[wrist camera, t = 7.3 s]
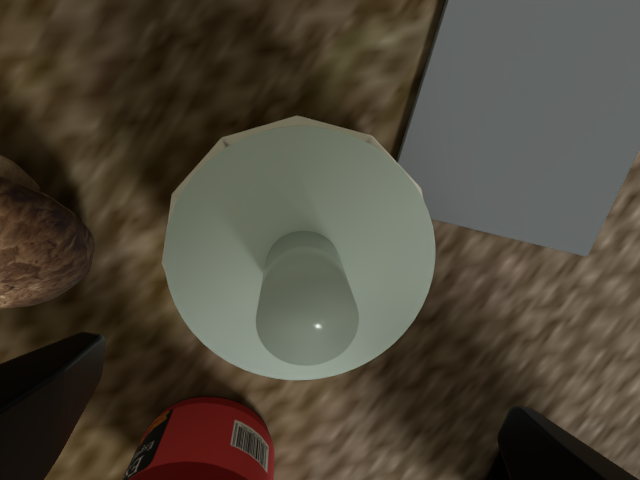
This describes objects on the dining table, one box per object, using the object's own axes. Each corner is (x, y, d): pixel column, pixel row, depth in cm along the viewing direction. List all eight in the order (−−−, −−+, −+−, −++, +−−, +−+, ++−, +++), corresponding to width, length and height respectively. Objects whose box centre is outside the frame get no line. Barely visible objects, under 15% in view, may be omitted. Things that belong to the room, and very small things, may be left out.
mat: (692, 24, 18) (701, 22, 18) (581, 254, 22) (587, 256, 21) (463, -59, 16) (467, -63, 16) (382, 205, 20) (383, 207, 19)
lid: (461, 162, 14) (546, 184, 10) (385, 381, 17) (421, 482, 12) (192, 93, 13) (135, 79, 8) (157, 343, 16) (99, 441, 11)
